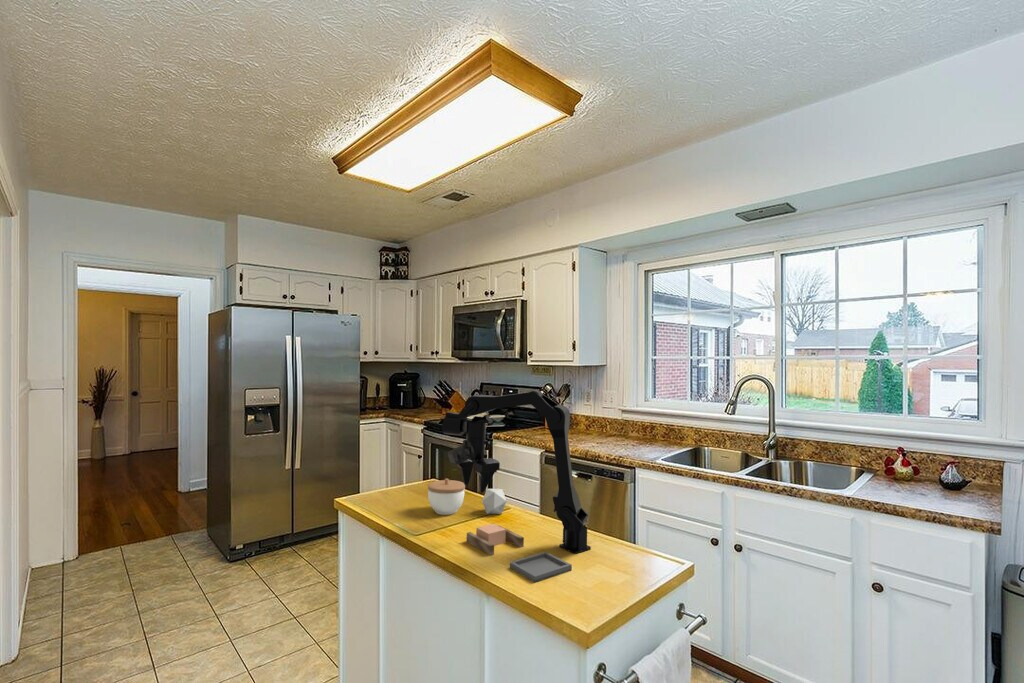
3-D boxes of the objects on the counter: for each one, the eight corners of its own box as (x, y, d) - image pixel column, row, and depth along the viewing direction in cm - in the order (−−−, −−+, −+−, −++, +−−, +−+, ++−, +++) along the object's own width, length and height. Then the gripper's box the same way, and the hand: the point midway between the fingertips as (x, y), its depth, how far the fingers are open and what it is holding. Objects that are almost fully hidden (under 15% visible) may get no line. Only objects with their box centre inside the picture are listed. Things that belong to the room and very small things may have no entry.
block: (505, 543, 144) (505, 529, 144) (488, 548, 141) (488, 533, 141) (492, 537, 149) (493, 523, 149) (476, 541, 145) (476, 527, 145)
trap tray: (571, 570, 127) (571, 564, 127) (534, 582, 120) (535, 576, 120) (545, 556, 135) (545, 551, 135) (509, 567, 128) (509, 562, 128)
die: (497, 520, 165) (512, 495, 168) (475, 505, 167) (491, 480, 170) (497, 521, 173) (512, 497, 176) (476, 507, 174) (491, 483, 177)
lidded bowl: (451, 519, 163) (452, 485, 163) (419, 513, 168) (420, 480, 169) (471, 509, 174) (472, 477, 174) (440, 503, 180) (441, 472, 180)
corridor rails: (523, 546, 142) (523, 537, 142) (490, 555, 135) (490, 546, 135) (498, 533, 151) (498, 525, 151) (466, 541, 145) (466, 532, 145)
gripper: (437, 433, 155) (435, 484, 155) (468, 444, 140) (466, 500, 140) (468, 431, 162) (466, 480, 161) (501, 441, 147) (499, 495, 146)
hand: (473, 488), depth 152 cm, fingers open, 9 cm apart
